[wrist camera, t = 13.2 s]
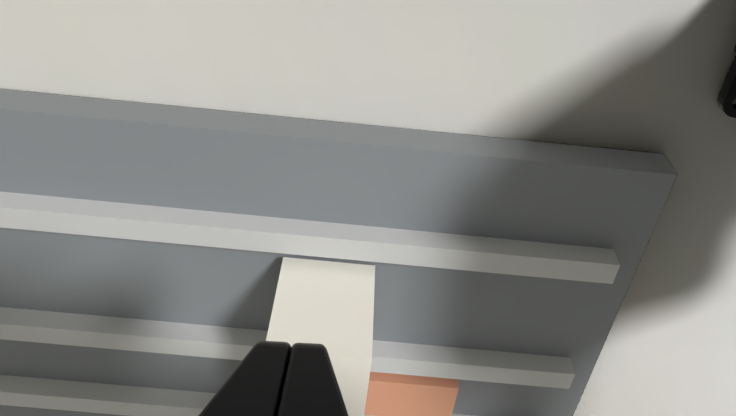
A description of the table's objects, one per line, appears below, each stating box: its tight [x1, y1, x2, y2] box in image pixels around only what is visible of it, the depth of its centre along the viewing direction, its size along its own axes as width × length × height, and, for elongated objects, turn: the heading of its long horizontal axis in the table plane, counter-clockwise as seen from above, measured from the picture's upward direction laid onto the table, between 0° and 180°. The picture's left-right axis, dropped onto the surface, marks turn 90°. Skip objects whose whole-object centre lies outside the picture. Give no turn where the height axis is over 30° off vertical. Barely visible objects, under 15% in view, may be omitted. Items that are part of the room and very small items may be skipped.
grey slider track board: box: [0, 89, 677, 416], centre depth 26 cm, size 24×20×2 cm
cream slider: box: [266, 257, 375, 416], centre depth 21 cm, size 3×4×4 cm
